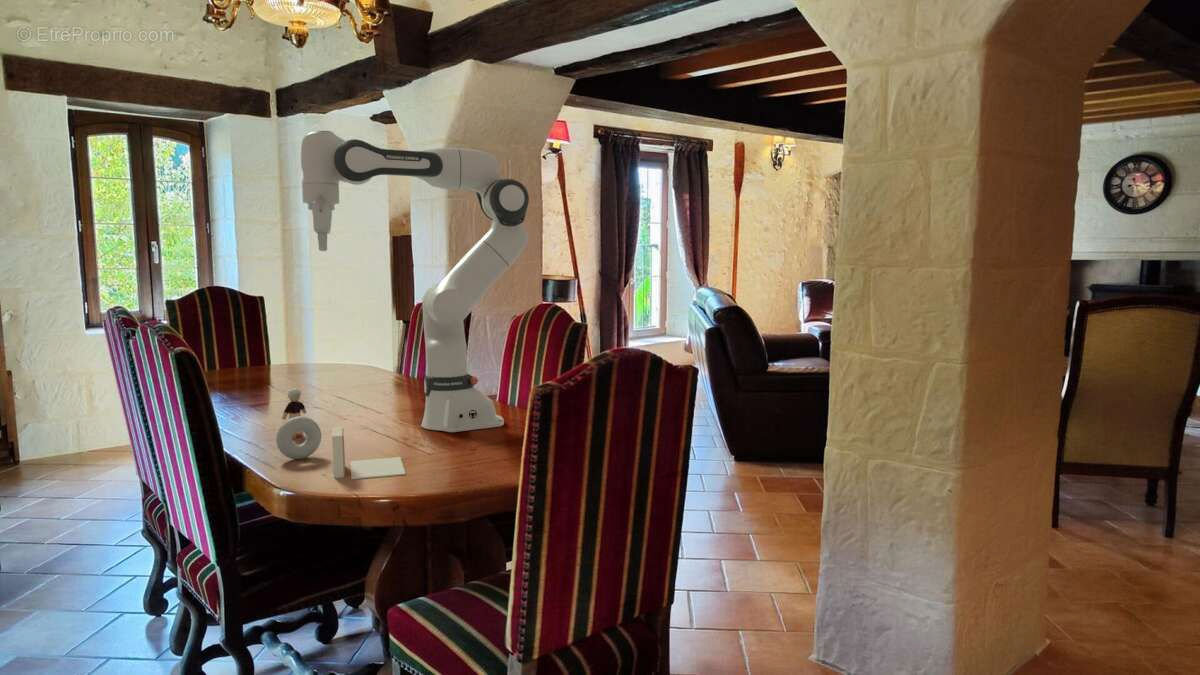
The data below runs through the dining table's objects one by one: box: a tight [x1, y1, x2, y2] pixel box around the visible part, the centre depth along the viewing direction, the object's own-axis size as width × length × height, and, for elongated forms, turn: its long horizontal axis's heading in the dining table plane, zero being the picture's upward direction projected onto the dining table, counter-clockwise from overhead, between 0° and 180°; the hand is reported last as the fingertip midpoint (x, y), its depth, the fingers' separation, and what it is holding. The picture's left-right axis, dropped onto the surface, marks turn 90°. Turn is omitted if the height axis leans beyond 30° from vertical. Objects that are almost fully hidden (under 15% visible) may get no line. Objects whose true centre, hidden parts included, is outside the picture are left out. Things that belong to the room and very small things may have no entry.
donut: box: [275, 415, 322, 460], centre depth 173 cm, size 10×4×10 cm, turn 129°
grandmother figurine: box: [281, 387, 307, 440], centre depth 195 cm, size 8×4×13 cm, turn 168°
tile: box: [331, 426, 346, 479], centre depth 163 cm, size 2×9×9 cm, turn 19°
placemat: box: [350, 456, 406, 480], centre depth 166 cm, size 11×14×1 cm
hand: (323, 250), depth 193 cm, fingers open, 8 cm apart
